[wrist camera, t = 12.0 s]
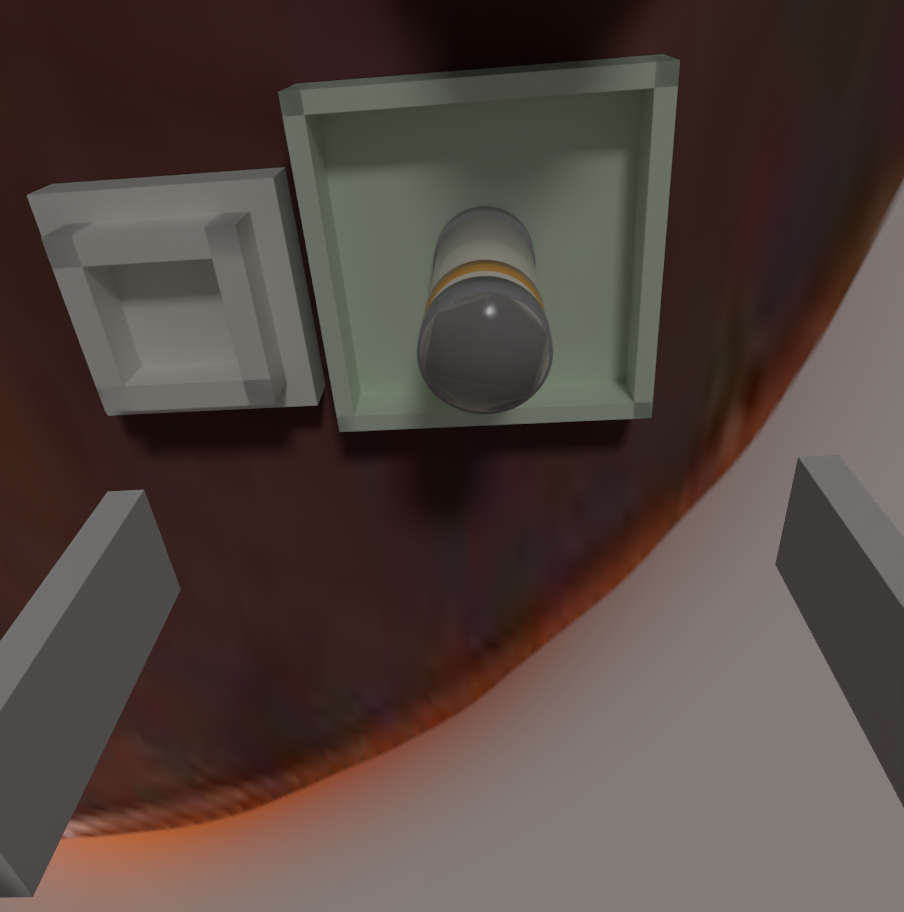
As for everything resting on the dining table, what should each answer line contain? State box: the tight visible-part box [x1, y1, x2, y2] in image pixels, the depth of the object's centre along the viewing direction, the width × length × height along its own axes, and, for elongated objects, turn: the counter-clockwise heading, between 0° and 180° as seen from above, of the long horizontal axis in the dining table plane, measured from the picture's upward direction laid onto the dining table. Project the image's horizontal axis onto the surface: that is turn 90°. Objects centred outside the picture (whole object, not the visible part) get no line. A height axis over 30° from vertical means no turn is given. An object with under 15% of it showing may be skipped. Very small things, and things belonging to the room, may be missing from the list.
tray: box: [278, 54, 680, 432], centre depth 30 cm, size 14×14×3 cm
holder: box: [27, 167, 326, 415], centre depth 31 cm, size 10×10×4 cm
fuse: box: [417, 206, 553, 414], centre depth 27 cm, size 4×4×10 cm
